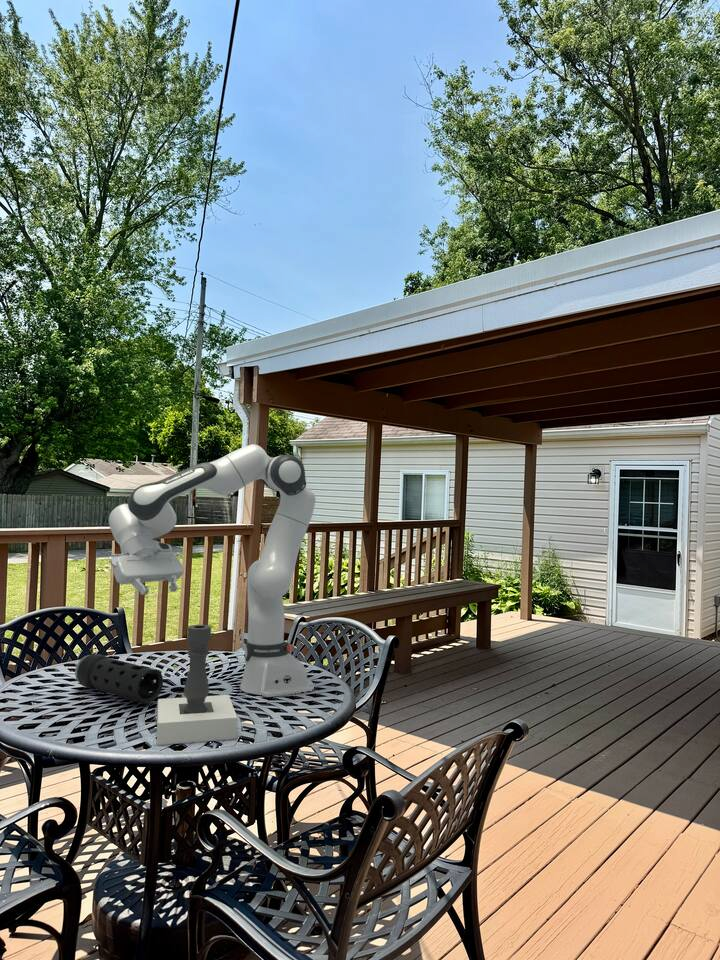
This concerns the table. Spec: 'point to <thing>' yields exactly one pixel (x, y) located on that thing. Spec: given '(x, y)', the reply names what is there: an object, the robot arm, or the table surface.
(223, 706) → the socket block
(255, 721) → the table surface
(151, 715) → the table surface
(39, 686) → the table surface
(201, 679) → the candle holder
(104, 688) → the muzzle brake
